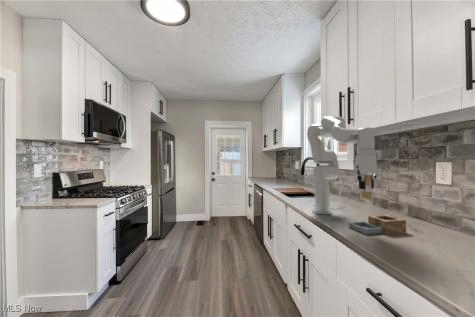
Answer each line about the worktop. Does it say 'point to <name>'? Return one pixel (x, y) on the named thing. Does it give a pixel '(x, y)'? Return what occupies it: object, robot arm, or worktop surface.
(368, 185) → the sprinkles bottle
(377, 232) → the tray
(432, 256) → the worktop surface
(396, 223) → the brown wooden box
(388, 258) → the worktop surface
